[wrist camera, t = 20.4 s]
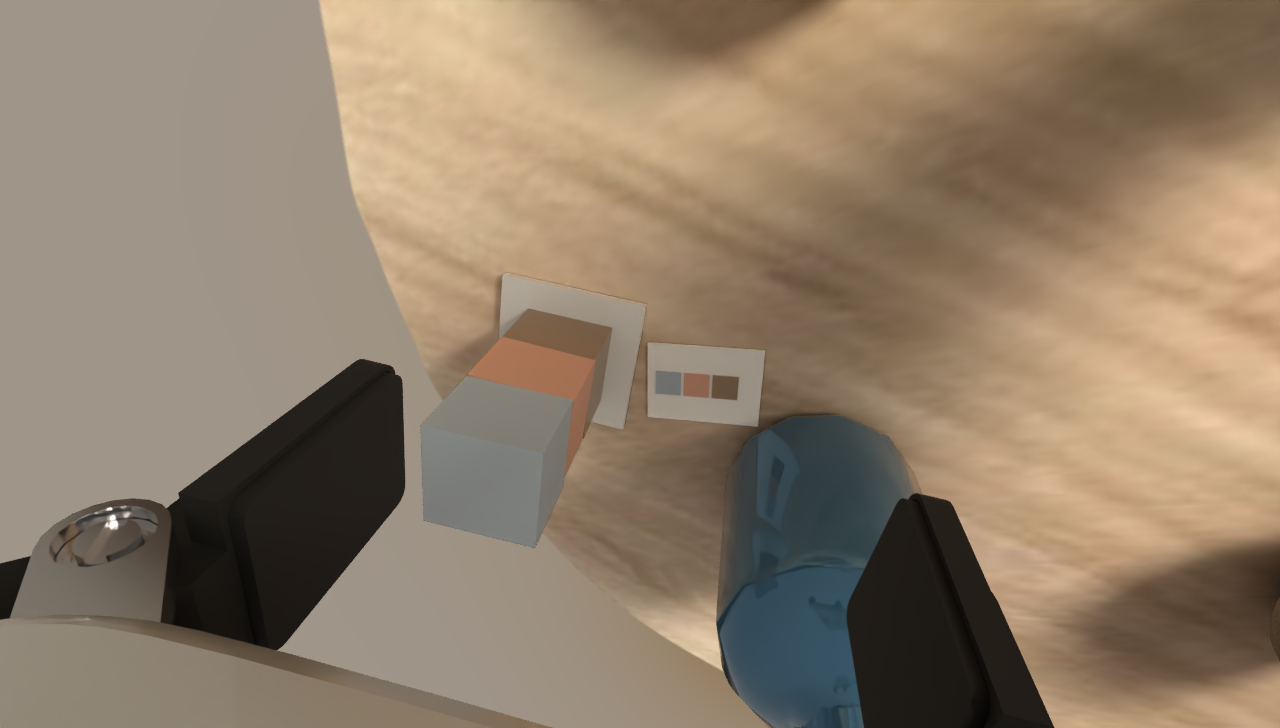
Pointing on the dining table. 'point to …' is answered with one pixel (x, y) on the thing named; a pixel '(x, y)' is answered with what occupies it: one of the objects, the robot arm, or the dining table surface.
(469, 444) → the slate brick
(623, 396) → the tower base
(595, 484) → the dining table surface
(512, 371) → the terracotta brick
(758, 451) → the wine bottle
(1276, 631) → the brown round ball
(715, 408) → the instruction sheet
